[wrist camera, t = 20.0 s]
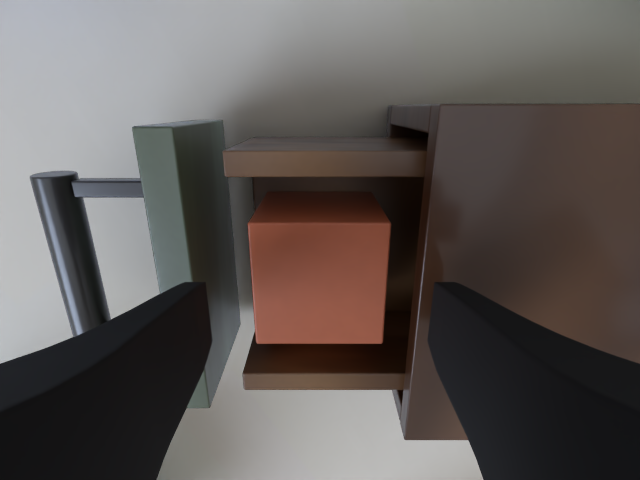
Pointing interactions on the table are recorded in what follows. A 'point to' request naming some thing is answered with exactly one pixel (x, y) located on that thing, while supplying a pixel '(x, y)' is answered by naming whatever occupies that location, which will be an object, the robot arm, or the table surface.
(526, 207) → the cabinet
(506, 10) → the table surface
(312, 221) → the block
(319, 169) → the drawer
